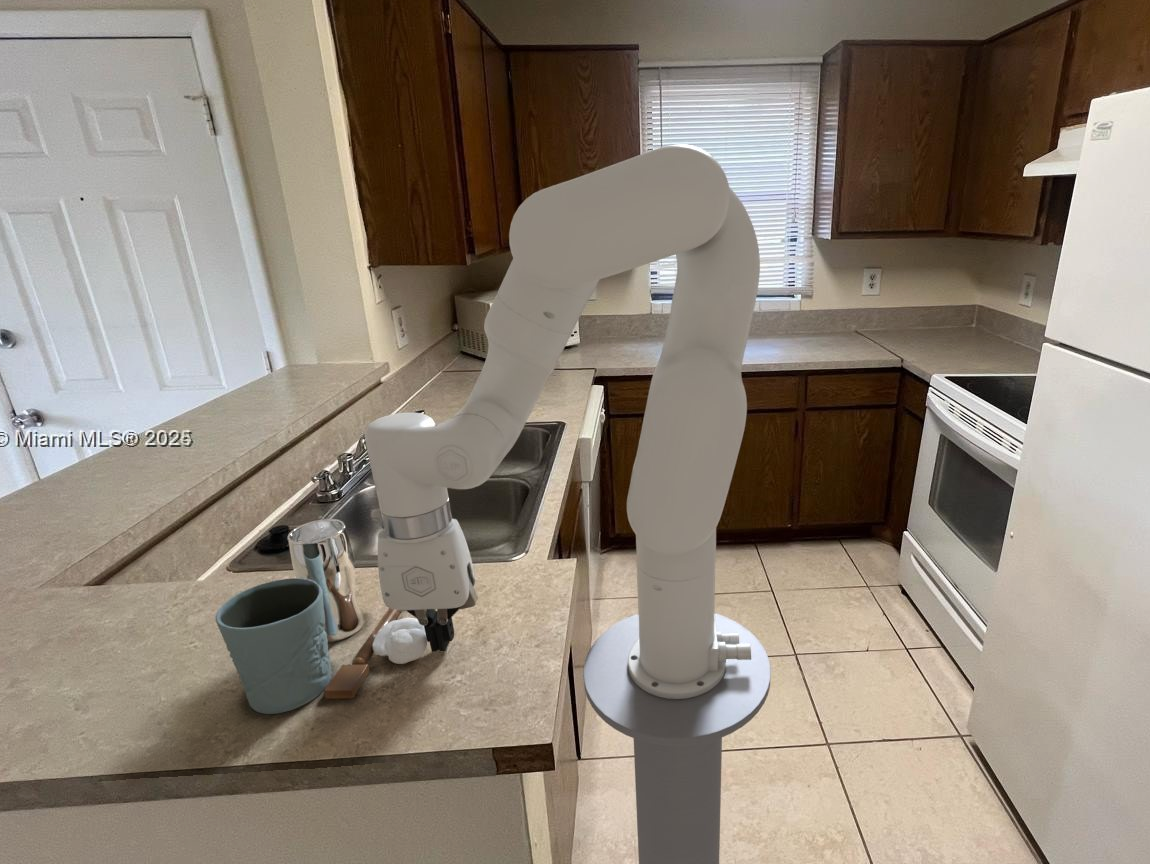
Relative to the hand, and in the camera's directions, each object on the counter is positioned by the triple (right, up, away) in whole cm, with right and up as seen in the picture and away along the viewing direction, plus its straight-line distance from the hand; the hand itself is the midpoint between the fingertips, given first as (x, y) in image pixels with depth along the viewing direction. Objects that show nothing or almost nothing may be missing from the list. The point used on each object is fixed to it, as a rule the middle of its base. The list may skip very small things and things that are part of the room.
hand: (442, 644), depth 78 cm
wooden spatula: (-9, -1, 0) cm, 9 cm away
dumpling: (-5, -1, 0) cm, 5 cm away
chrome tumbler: (-16, 0, +5) cm, 17 cm away
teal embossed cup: (-16, -3, -5) cm, 17 cm away
